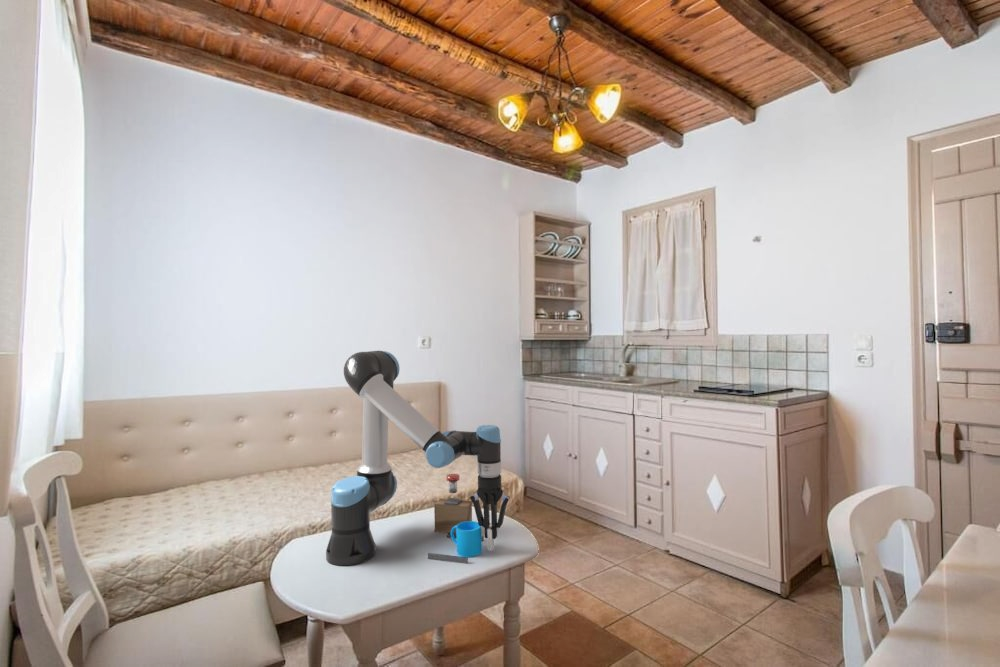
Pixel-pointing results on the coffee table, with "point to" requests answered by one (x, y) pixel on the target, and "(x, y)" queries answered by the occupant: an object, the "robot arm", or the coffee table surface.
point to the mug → (468, 538)
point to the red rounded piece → (452, 482)
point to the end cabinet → (451, 513)
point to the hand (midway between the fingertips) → (491, 548)
